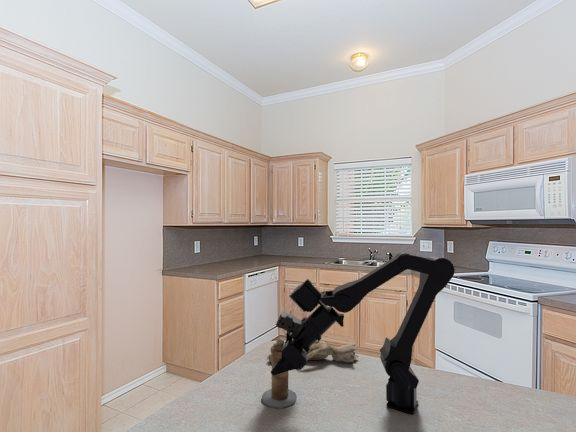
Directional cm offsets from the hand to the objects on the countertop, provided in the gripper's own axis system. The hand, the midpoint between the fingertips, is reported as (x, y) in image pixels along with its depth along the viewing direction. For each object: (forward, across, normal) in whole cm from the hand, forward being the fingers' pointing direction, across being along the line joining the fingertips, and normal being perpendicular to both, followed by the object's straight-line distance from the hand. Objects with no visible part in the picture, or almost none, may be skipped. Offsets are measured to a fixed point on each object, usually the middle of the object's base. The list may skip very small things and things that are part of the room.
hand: (274, 366), depth 86 cm
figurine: (-1, -27, +14) cm, 30 cm away
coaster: (+5, 0, +7) cm, 8 cm away
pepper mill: (+4, 0, +6) cm, 8 cm away
